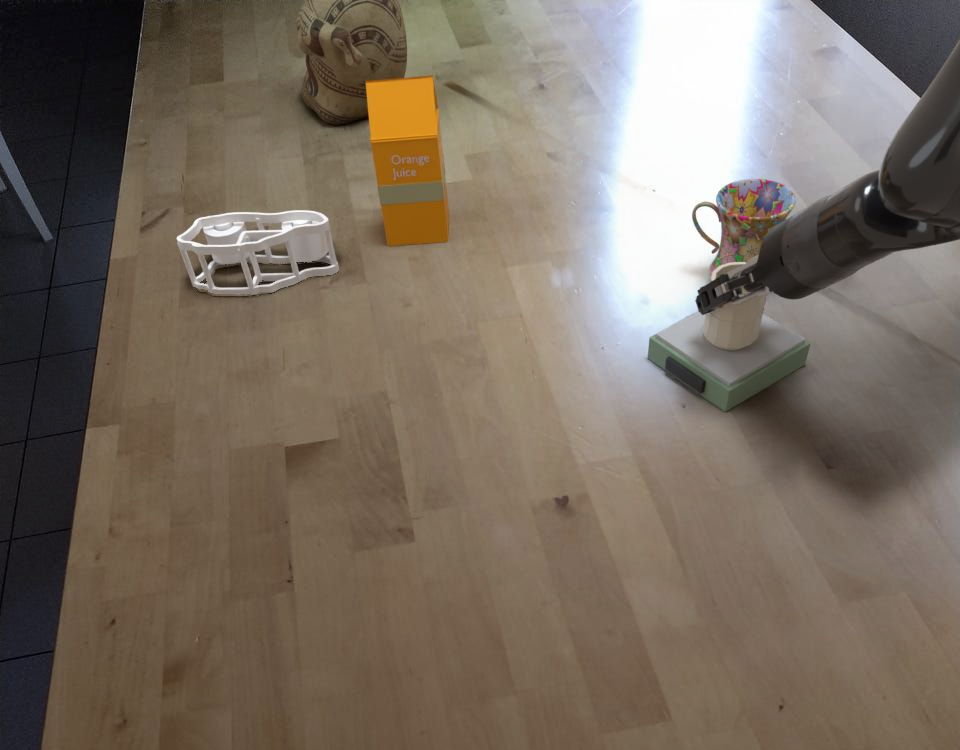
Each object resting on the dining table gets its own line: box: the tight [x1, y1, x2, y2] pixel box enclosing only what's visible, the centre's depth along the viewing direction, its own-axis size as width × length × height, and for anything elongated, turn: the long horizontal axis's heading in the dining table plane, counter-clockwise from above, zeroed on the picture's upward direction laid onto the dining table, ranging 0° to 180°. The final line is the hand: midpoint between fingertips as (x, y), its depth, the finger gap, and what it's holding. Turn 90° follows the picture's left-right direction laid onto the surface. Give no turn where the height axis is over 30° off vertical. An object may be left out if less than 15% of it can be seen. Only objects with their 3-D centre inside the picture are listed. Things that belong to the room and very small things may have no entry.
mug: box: [691, 178, 797, 278], centre depth 112 cm, size 12×9×11 cm
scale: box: [647, 310, 812, 413], centre depth 105 cm, size 14×13×4 cm
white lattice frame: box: [176, 209, 340, 295], centre depth 122 cm, size 20×11×7 cm, turn 85°
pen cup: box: [703, 262, 768, 350], centre depth 101 cm, size 6×6×8 cm
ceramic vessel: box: [295, 0, 408, 126], centre depth 142 cm, size 19×21×30 cm
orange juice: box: [365, 75, 450, 247], centre depth 121 cm, size 8×9×20 cm
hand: (726, 295), depth 101 cm, fingers closed on pen cup, 6 cm apart
